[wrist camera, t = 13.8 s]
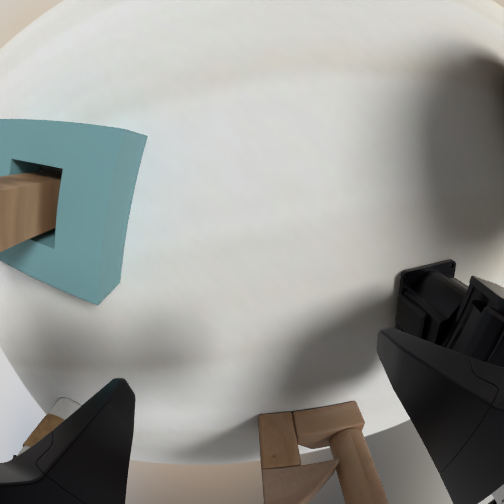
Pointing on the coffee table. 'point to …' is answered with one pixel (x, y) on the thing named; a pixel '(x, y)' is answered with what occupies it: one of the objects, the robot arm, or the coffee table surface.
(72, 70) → the coffee table surface
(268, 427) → the wooden block
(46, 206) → the square peg
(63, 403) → the coffee cup
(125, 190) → the teal square hole block
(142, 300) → the coffee table surface
